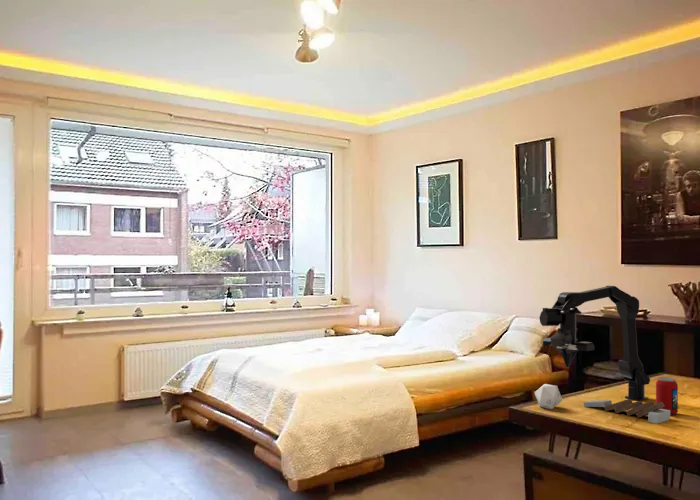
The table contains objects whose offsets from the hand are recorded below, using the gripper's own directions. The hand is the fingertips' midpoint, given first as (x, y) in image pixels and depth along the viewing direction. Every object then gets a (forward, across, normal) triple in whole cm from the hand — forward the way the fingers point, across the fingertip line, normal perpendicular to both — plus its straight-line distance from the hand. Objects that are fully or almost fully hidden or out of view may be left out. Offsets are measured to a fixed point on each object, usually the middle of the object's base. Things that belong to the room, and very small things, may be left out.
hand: (567, 367), depth 231 cm
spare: (+12, +8, 0) cm, 15 cm away
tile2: (+12, +20, 0) cm, 23 cm away
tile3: (+12, +24, 0) cm, 27 cm away
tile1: (+12, +16, 0) cm, 20 cm away
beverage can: (+13, +31, +12) cm, 36 cm away
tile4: (+12, +28, 0) cm, 30 cm away
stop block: (+13, +34, 0) cm, 36 cm away
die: (+13, +1, -14) cm, 19 cm away
